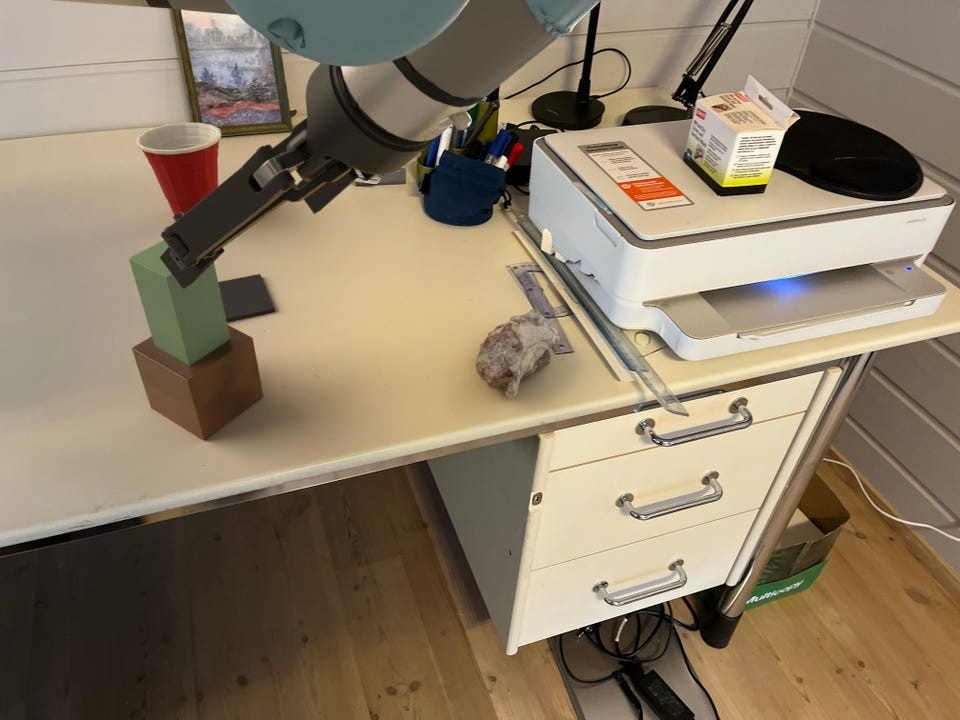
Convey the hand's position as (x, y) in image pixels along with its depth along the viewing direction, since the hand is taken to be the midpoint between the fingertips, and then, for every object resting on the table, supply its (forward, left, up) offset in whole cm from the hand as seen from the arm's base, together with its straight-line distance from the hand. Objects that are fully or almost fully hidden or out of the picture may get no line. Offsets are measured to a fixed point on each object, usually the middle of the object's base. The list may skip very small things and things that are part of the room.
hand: (246, 232), depth 58 cm
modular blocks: (+47, +16, -24) cm, 56 cm away
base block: (-6, +9, -24) cm, 26 cm away
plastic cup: (-1, +49, -24) cm, 55 cm away
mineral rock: (+27, +3, -24) cm, 37 cm away
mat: (-2, +26, -24) cm, 36 cm away
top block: (-6, +9, -16) cm, 19 cm away
